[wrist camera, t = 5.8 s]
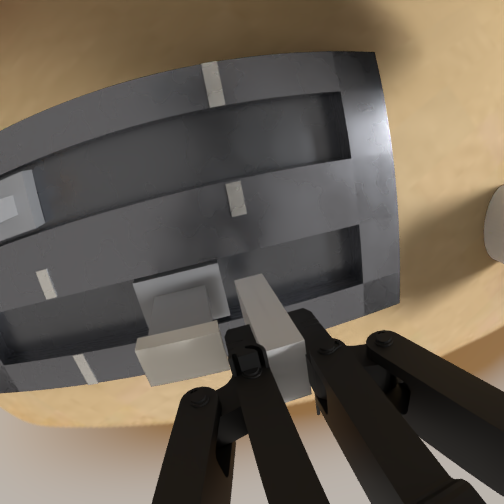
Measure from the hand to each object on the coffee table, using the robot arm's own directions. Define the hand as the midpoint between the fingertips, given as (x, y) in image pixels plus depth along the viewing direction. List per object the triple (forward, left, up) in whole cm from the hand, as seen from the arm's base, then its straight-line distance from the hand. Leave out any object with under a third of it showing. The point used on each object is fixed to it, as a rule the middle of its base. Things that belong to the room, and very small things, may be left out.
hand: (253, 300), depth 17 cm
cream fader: (0, -4, -3) cm, 5 cm away
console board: (-4, -6, -5) cm, 8 cm away
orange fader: (-8, -14, -3) cm, 16 cm away
